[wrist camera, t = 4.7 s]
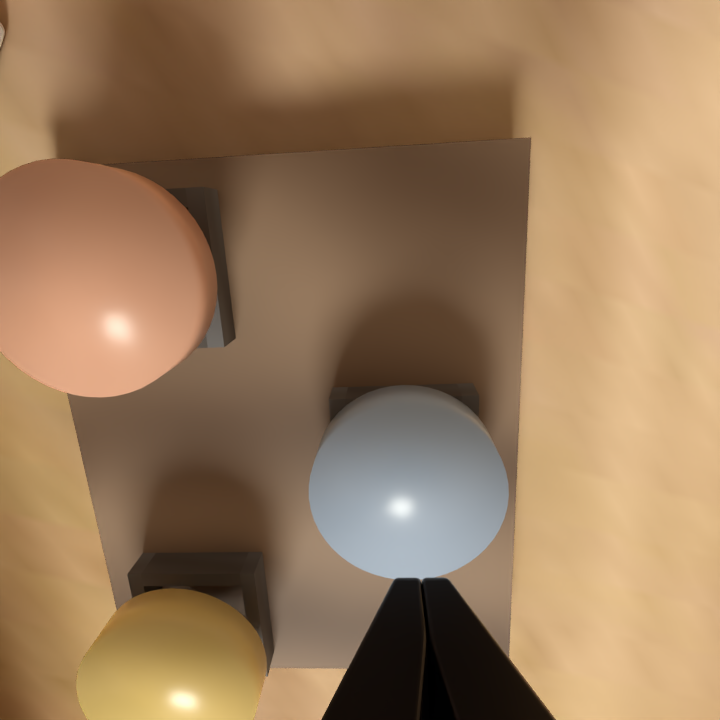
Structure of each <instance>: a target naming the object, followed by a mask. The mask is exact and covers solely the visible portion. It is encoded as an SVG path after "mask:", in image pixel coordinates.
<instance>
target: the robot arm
mask: <svg viewBox="0 0 720 720" xmlns="http://www.w3.org/2000/svg"><path fill="white" fill-rule="evenodd" d="M322 720H556V719H555V718H554V717H553V715H552V714H551V713H550V711H549V710H548V709H547V707H546V706H545V705H544V704H543V702H542V701H541V700H540V698H539V697H538V696H537V694H536V693H535V692H534V690H533V689H532V688H531V686H530V685H529V684H528V682H527V681H526V680H525V679H524V677H523V676H522V675H521V673H520V672H519V671H518V669H517V668H516V667H515V665H514V664H513V663H512V661H511V660H510V659H509V657H508V656H507V655H506V654H505V652H504V651H503V650H502V648H501V647H500V646H499V644H498V643H497V642H496V640H495V639H494V638H493V636H492V635H491V634H490V632H489V631H488V630H487V629H486V627H485V626H484V625H483V623H482V622H481V621H480V619H479V618H478V617H477V615H476V614H475V613H474V611H473V610H472V609H471V607H470V606H469V605H468V604H467V602H466V601H465V600H464V598H463V597H462V596H461V594H460V593H459V592H458V590H457V589H456V588H455V586H454V585H453V584H452V582H451V581H450V580H449V579H447V578H445V577H426V578H424V579H423V580H422V583H421V581H420V579H419V578H416V577H414V578H396V579H394V580H393V582H392V584H391V586H390V588H389V590H388V592H387V593H386V595H385V597H384V599H383V601H382V603H381V605H380V607H379V609H378V611H377V613H376V615H375V617H374V619H373V621H372V623H371V625H370V626H369V628H368V630H367V632H366V634H365V636H364V638H363V640H362V642H361V644H360V646H359V648H358V650H357V652H356V654H355V656H354V658H353V659H352V661H351V663H350V665H349V667H348V669H347V671H346V673H345V675H344V677H343V679H342V681H341V683H340V685H339V687H338V689H337V691H336V692H335V694H334V696H333V698H332V700H331V702H330V704H329V706H328V708H327V710H326V712H325V714H324V716H323V718H322Z"/></svg>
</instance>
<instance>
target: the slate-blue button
mask: <svg viewBox="0 0 720 720" xmlns="http://www.w3.org/2000/svg"><path fill="white" fill-rule="evenodd" d="M508 498H509V488H508V479H507V474H506V470H505V467H504V464H503V462H502V459H501V457H500V455H499V453H498V451H497V449H496V447H495V445H494V443H493V441H492V439H491V437H490V435H489V433H488V431H487V429H486V427H485V426H484V424H483V423H482V421H481V420H480V419H479V417H478V416H477V415H476V414H475V413H474V412H473V411H472V410H471V409H470V408H469V407H467V406H466V405H465V404H463V403H462V402H461V401H459V400H458V399H456V398H454V397H452V396H451V395H448V394H446V393H444V392H441V391H439V390H435V389H432V388H429V387H423V386H416V385H398V386H389V387H385V388H380V389H377V390H374V391H371V392H368V393H366V394H364V395H362V396H360V397H358V398H356V399H355V400H353V401H352V402H350V403H349V404H347V405H346V406H345V407H344V408H343V409H342V410H341V411H340V412H338V414H337V415H336V416H335V417H334V418H333V419H332V421H331V422H330V424H329V425H328V427H327V428H326V430H325V432H324V434H323V436H322V439H321V441H320V444H319V448H318V451H317V454H316V457H315V461H314V464H313V467H312V471H311V474H310V481H309V502H310V508H311V512H312V515H313V518H314V521H315V523H316V525H317V527H318V530H319V531H320V533H321V534H322V536H323V538H324V539H325V541H326V542H327V543H328V544H329V545H330V546H331V548H332V549H333V550H334V551H335V552H337V553H338V554H339V555H340V556H341V557H342V558H344V559H345V560H346V561H348V562H349V563H351V564H352V565H354V566H356V567H358V568H360V569H362V570H364V571H366V572H369V573H371V574H374V575H378V576H381V577H385V578H391V579H396V578H414V577H416V578H419V579H420V580H421V579H424V578H426V577H437V576H441V575H444V574H447V573H450V572H452V571H454V570H457V569H459V568H461V567H462V566H464V565H466V564H468V563H469V562H470V561H472V560H473V559H475V558H476V557H477V556H478V555H479V554H481V553H482V552H483V551H484V550H485V549H486V548H487V547H488V545H489V544H490V543H491V542H492V540H493V539H494V538H495V536H496V534H497V533H498V531H499V529H500V527H501V525H502V523H503V520H504V518H505V514H506V511H507V507H508Z"/></svg>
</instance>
